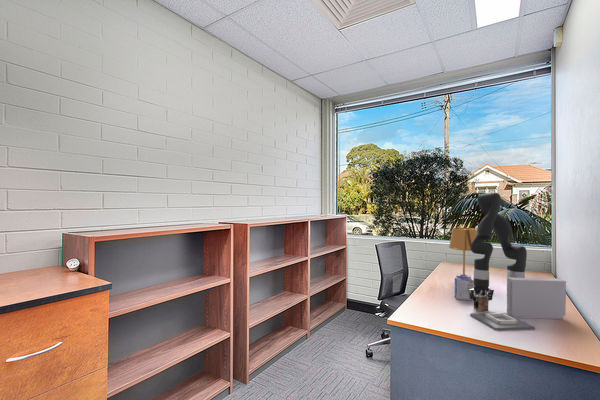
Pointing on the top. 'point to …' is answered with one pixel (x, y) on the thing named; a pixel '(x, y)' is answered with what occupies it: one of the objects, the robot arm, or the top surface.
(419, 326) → the top surface
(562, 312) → the game console
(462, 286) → the ink cartridge box
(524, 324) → the baseplate
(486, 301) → the walnut block
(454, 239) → the lamp
